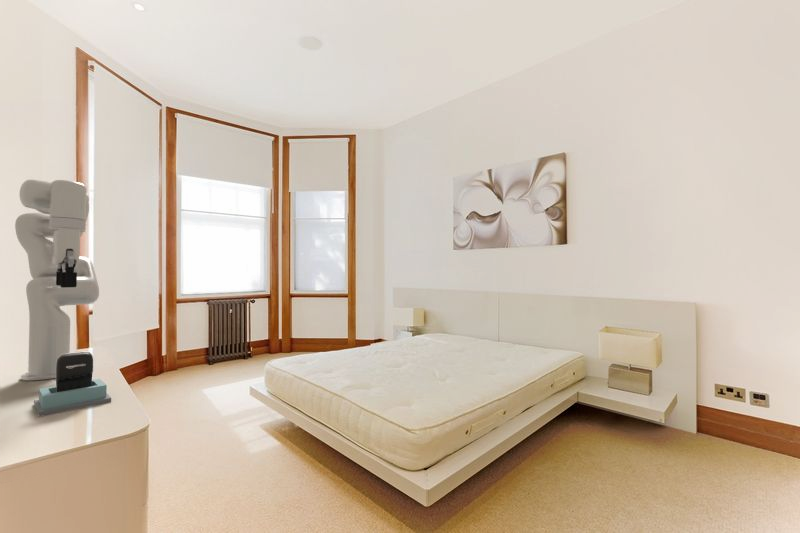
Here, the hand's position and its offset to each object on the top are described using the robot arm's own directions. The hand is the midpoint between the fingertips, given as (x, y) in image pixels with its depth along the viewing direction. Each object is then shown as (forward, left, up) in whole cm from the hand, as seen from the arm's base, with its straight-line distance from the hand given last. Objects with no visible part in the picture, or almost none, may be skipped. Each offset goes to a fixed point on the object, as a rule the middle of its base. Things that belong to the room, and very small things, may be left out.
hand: (66, 286), depth 103 cm
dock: (+17, 0, -29) cm, 33 cm away
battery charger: (+17, 0, -28) cm, 33 cm away
